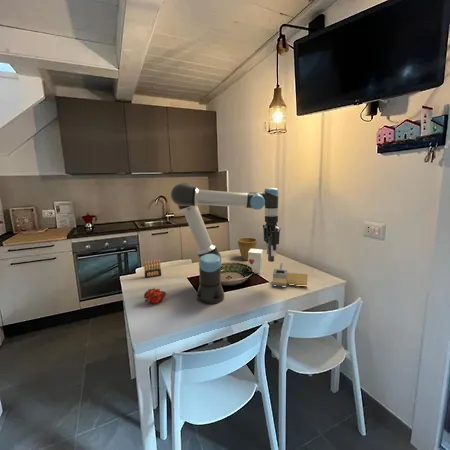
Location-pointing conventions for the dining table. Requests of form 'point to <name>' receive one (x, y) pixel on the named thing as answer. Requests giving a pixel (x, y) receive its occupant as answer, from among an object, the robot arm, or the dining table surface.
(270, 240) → the hinge pin
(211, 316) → the dining table surface
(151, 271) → the ammunition clip
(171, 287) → the dining table surface
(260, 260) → the supplement box
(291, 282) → the hinge
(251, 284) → the dining table surface
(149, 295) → the dragon fruit
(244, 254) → the plant pot
